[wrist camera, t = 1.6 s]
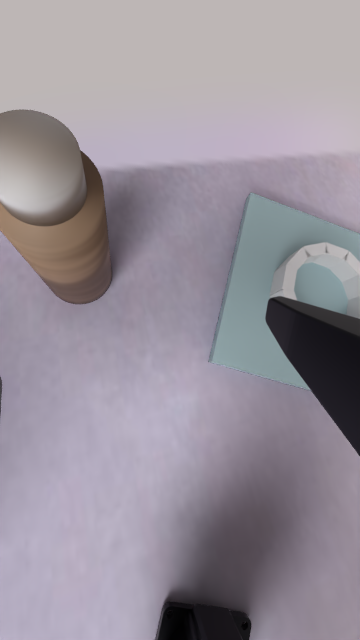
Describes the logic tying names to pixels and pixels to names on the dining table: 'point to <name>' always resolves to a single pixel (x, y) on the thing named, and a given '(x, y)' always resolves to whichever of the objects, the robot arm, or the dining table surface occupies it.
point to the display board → (282, 283)
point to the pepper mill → (53, 205)
